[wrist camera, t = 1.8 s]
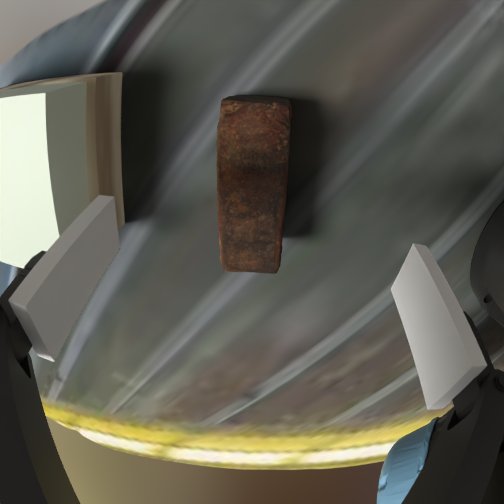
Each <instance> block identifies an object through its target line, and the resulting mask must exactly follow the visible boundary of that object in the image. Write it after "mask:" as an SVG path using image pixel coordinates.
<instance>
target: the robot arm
mask: <svg viewBox="0 0 504 504" xmlns="http://www.w3.org/2000/svg"><path fill="white" fill-rule="evenodd" d="M119 250H120V245H119V237H118V228H117V219H116V209H115V198H114V196H104V195H99V196H98V197H97V198H96V199H95V200H94V201H93V202H92V203H91V204H90V205H89V206H88V207H87V208H86V209H85V210H84V211H83V212H82V213H81V214H80V215H79V216H78V217H77V218H76V219H75V220H74V222H73V223H72V224H71V225H70V226H69V227H68V228H67V229H66V230H65V231H64V232H63V234H62V235H61V236H60V237H59V238H58V239H57V240H56V241H55V243H54V244H53V245H52V246H51V247H50V248H49V249H48V251H43V250H42V251H41V252H39V253H38V254H36V255H35V256H33V257H32V258H31V259H30V260H29V262H28V263H27V264H26V265H25V266H24V269H22V270H21V271H20V272H19V274H18V276H16V277H15V279H14V280H13V281H12V282H11V284H10V285H9V286H8V288H7V289H6V290H5V291H4V293H3V294H2V295H1V297H0V504H80V502H79V500H78V498H77V496H76V494H75V492H74V490H73V487H72V485H71V483H70V481H69V478H68V476H67V474H66V471H65V469H64V467H63V465H62V462H61V460H60V457H59V454H58V452H57V449H56V446H55V443H54V440H53V438H52V435H51V432H50V429H49V426H48V423H47V419H46V416H45V413H44V409H43V406H42V402H41V399H40V395H39V391H38V387H37V383H36V379H35V374H34V370H33V365H32V360H31V357H30V355H29V353H28V352H29V351H30V349H31V347H32V346H33V348H34V350H35V351H36V353H37V355H38V356H40V357H43V358H45V359H48V360H50V361H53V362H55V360H56V358H57V356H58V354H59V352H60V350H61V349H62V347H63V345H64V343H65V341H66V339H67V337H68V335H69V333H70V332H71V330H72V328H73V326H74V324H75V322H76V321H77V319H78V317H79V315H80V314H81V312H82V310H83V308H84V307H85V305H86V303H87V301H88V300H89V298H90V296H91V295H92V293H93V291H94V290H95V288H96V286H97V285H98V283H99V281H100V280H101V278H102V276H103V275H104V273H105V272H106V270H107V268H108V267H109V265H110V264H111V262H112V261H113V259H114V257H115V256H116V254H117V253H118V251H119ZM470 280H471V286H472V289H473V292H474V294H475V295H476V297H477V299H478V301H479V303H480V304H481V306H482V308H483V309H484V310H485V312H486V313H487V314H488V315H490V316H491V317H492V318H493V319H494V320H495V321H497V322H498V323H499V324H500V325H501V326H503V327H504V202H503V203H502V204H501V205H500V206H499V208H498V209H497V210H496V211H495V213H494V214H493V216H492V217H491V218H490V220H489V222H488V223H487V225H486V227H485V228H484V230H483V232H482V234H481V236H480V238H479V241H478V243H477V245H476V248H475V251H474V255H473V258H472V263H471V270H470ZM391 292H392V294H393V297H394V300H395V303H396V306H397V308H398V311H399V314H400V317H401V320H402V323H403V326H404V329H405V332H406V335H407V338H408V341H409V344H410V348H411V351H412V354H413V358H414V361H415V364H416V368H417V371H418V375H419V379H420V382H421V386H422V390H423V394H424V397H425V401H426V405H427V410H433V409H442V408H444V407H445V406H446V405H447V404H448V403H449V402H451V401H453V404H454V407H453V408H452V409H451V410H449V411H448V412H447V413H446V414H445V415H443V416H442V417H440V418H439V417H436V418H434V419H432V421H431V422H430V423H429V424H427V425H425V426H423V427H421V428H419V429H417V430H415V431H413V432H411V433H409V434H407V435H405V436H404V437H402V438H401V439H399V440H398V441H397V442H396V443H395V444H394V445H393V447H392V448H391V450H390V451H389V453H388V455H387V457H386V459H385V462H384V464H383V468H382V471H381V475H380V480H379V489H378V494H377V504H504V372H503V371H501V370H499V369H494V367H493V365H492V362H491V360H490V358H489V355H488V353H487V351H486V348H485V346H484V344H483V342H482V341H481V337H480V335H479V333H477V329H476V327H475V325H474V323H473V321H472V320H471V318H470V317H469V316H468V315H467V314H466V312H463V311H462V309H461V307H460V305H459V303H458V301H457V299H456V297H455V295H454V293H453V291H452V290H451V288H450V286H449V284H448V282H447V280H446V279H445V277H444V275H443V273H442V271H441V270H440V268H439V266H438V264H437V263H436V261H435V259H434V258H433V256H432V254H431V253H430V251H429V249H428V248H427V246H424V245H419V244H414V243H413V245H412V247H411V249H410V251H409V253H408V255H407V257H406V260H405V262H404V264H403V266H402V268H401V270H400V272H399V274H398V276H397V278H396V280H395V282H394V284H393V286H392V288H391Z"/></svg>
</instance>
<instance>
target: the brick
mask: <svg viewBox="0 0 504 504" xmlns="http://www.w3.org/2000/svg"><path fill="white" fill-rule="evenodd" d="M291 119H292V107H291V100H289V99H286V98H279V97H269V96H251V95H250V96H246V95H236V96H229V97H226V98H225V99H223V100H222V102H221V106H220V119H219V123H218V127H217V190H218V220H219V233H220V239H219V245H220V261H221V265H222V267H223V269H224V270H226V271H229V272H256V273H271V274H275V273H277V271H278V269H279V267H280V262H281V253H282V234H283V225H284V214H285V204H286V191H287V177H288V164H289V147H290V132H291Z"/></svg>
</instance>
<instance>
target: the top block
mask: <svg viewBox="0 0 504 504" xmlns="http://www.w3.org/2000/svg"><path fill="white" fill-rule="evenodd" d="M86 92H87V82H72V83H58V84H47V85H37V86H29V87H21V88H15V89H8V90H2V91H0V261H1V262H4V263H7V264H11V265H14V266H17V267H20V268H23V269H24V266H25V265H26V264H27V263H28V262H29V260H30V259H31V258H32V257H33V256H35V255H36V254H38V253H39V252H41V251H42V250H43V251H48V249H49V248H50V247H51V246H52V245H53V244H54V243H55V241H56V240H57V239H58V238H59V237H60V236H61V235H62V234H63V232H64V231H65V230H66V229H67V228H68V227H69V226H70V225H71V224H72V223H73V222H74V220H75V219H76V218H77V217H78V216H79V215H80V214H81V213H82V212H83V211H84V210H85V209H86V208H87V207H88V206H89V205H90V197H89V185H88V170H87V150H86Z"/></svg>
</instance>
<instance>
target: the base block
mask: <svg viewBox="0 0 504 504" xmlns="http://www.w3.org/2000/svg"><path fill="white" fill-rule="evenodd" d="M72 82H87V92H86V150H87V170H88V185H89V197H90V204H91V203H92V202H93V201H94V200H95V199H96V198H97V197H98V196H99V195H104V196H114V198H115V209H116V219H117V228H118V231H119V230H120V228H121V227H122V226H123V225H124V223H125V218H124V205H123V190H122V168H121V93H122V72H117V73H99V74H86V75H75V76H66V77H58V78H50V79H43V80H37V81H31V82H25V83H20V84H15V85H10V86H6V87H3V88H0V91H2V90H8V89H15V88H21V87H29V86H37V85H47V84H58V83H72Z"/></svg>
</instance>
